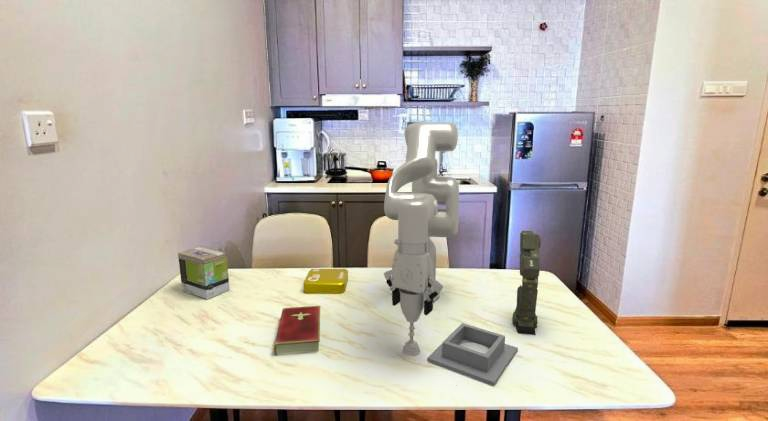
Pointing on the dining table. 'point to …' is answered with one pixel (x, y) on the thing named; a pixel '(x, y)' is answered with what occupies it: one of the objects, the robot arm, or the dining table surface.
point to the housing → (474, 353)
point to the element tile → (326, 281)
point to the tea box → (204, 272)
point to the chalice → (411, 317)
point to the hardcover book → (298, 330)
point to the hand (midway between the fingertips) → (411, 308)
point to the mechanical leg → (527, 284)
